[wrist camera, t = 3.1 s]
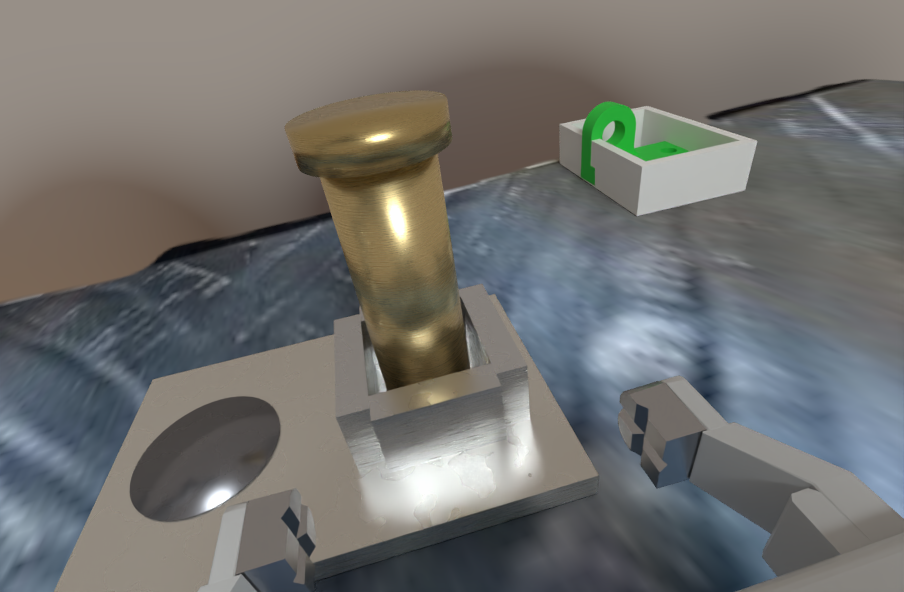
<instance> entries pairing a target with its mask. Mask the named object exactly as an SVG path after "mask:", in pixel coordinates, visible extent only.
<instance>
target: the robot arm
mask: <svg viewBox="0 0 904 592" xmlns="http://www.w3.org/2000/svg"><path fill="white" fill-rule="evenodd" d="M620 403H621V405H622V406H623V409H622V410H621V412H620V413H619V414H618V425H619V429H620V433H621V435H622V437H623V439H624V441H625V443H626V444H627V446H628V447H629V449H630V450H631V451H633V452H635V453H637V454H639V455H640V456H641V467H642V468H643V470H644V471H645V472H646V474H647V475H648V477H649V478H650V480H651V481H652V483H653V484H654V486H655V487H656V488H660V487H664V486H667V485H671V484H674V483H678V482H681V481H685V480H688V479H690V480H689V481H690V482H691V483H693V484H694V485H696V486H697V487H699V488H701V489H702V490H704V491H705V492H707V493H708V494H710V495H711V496H713V497H715V498H716V499H718V500H719V501H721V502H722V503H724V504H725V505H727V506H729V507H730V508H732V509H733V510H735V511H736V512H738V513H740V514H741V515H743V516H744V517H746V518H747V519H749V520H750V521H752V522H754V523H755V524H757V525H758V526H760V527H761V528H763V529H764V530H766V531H768V532H769V533H771V535H770V537H769V539H768V541H767V543H766V545H765V547H764V549H763V554H762V557H763V559H764V560H765V561H766V562H767V564H768V565H769V566H770V568H771V569H772V570H773V572H774V573H775V574H776V575H777V577H776V578H773V579H770V580H767V581H764V582H761V583H759V584H756V585H753V586H750V587H747V588H744V589H742V590H739V591H736V592H904V519H903V518H902V517H901V516H900V515H899V514H898V513H897V512H895V511H894V510H893V509H892V508H891V507H890V506H889V505H888V504H886V503H885V502H884V501H883V500H882V499H881V498H880V497H879V496H877V495H876V494H875V493H874V492H873V491H872V490H871V489H870V488H868V487H867V486H866V485H865V484H864V483H863V482H862V481H861V480H860V479H858V478H857V477H856V476H855V475H854V474H853V473H852V472H849V471H847V470H845V469H842V468H840V467H838V466H835V465H833V464H831V463H828V462H826V461H824V460H821V459H819V458H817V457H814V456H812V455H810V454H807V453H805V452H803V451H800V450H798V449H796V448H793V447H791V446H789V445H786V444H784V443H782V442H779V441H777V440H775V439H772V438H770V437H768V436H765V435H763V434H761V433H758V432H756V431H754V430H751V429H749V428H747V427H744V426H742V425H740V424H737V423H735V422H733V423H729V424H728V423H727V422H726V421H725V420H724V419H723V417H722V416H721V415H720V414H719V413H718V412H717V411H716V410H715V409H714V408H713V407H712V406H711V405H710V404H709V403H708V402H707V401H706V400H705V399H704V398H703V397H702V396H701V395H700V394H699V393H698V392H697V391H696V390H695V389H694V388H693V387H692V386H691V385H690V384H689V383H688V382H687V380H686V379H685V378H683V377H681V376H675V377H671V378H668V379H665V380H662V381H656V382H653V383H650V384H647V385H643V386H640V387H637V388H634V389H630V390H627V391H624V392H623V393H622V394H621V395H620ZM315 547H316V532H315V524H314V519H313V516H312V513H311V511H310V509H309V508H308V506H305V505H302V504H301V495H300V493H299V492H298V490H297V489H296V488H294V489H290V490H287V491H283V492H279V493H275V494H272V495H268V496H264V497H261V498H257V499H253V500H249V501H246V502H242V503H239V504H235V505H232V506H228V507H227V508H226V510H225V512H224V514H223V516H222V520H221V525H220V530H219V534H218V539H217V544H216V548H215V553H214V558H213V562H212V567H211V572H210V577H209V581H208V584H207V585H204V586H201V587H200V588H199V590H198V591H197V592H314V591H315V566H314V564H313V563H312V561H311V560H310V558H309V557H310V556H311V554H312V552H313V551H314V549H315Z"/></svg>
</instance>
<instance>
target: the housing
mask: <svg viewBox="0 0 904 592" xmlns="http://www.w3.org/2000/svg"><path fill="white" fill-rule="evenodd" d="M459 296H460V303H461V309H462V316H463V322H464V329H465V335H466V342H467V348H468V355H469V361H470V368H471V369H467V370H464V371H460V372H456V373H453V374H449V375H445V376H441V377H438V378H434V379H430V380H426V381H423V382H419V383H415V384H411V385H408V386H404V387H400V388H397V389H393V390H389V391H387V389H386V386H385V383H384V380H383V376H382V373H381V370H380V367H379V364H378V361H377V357H376V354H375V351H374V348H373V345H372V341H371V338H370V335H369V332H368V329H367V326H366V322H365V319H364V316H363V313H362V310H361V307H359V310H360V314H357V315H353V316H349V317H345V318H341V319H337V320H334V334H333V335H329V336H325V337H321V338H317V339H313V340H309V341H305V342H301V343H297V344H293V345H289V346H285V347H281V348H277V349H273V350H269V351H265V352H261V353H257V354H253V355H249V356H245V357H241V358H237V359H233V360H229V361H225V362H221V363H217V364H213V365H209V366H205V367H201V368H197V369H193V370H189V371H185V372H181V373H177V374H173V375H169V376H165V377H161V378H157V379H153V380H152V383H151V385H150V387H149V389H148V391H147V393H146V395H145V398H144V400H143V402H142V404H141V406H140V408H139V410H138V413H137V415H136V417H135V419H134V421H133V423H132V425H131V428H130V430H129V432H128V434H127V436H126V438H125V440H124V443H123V445H122V447H121V449H120V451H119V453H118V455H117V458H116V460H115V462H114V464H113V466H112V468H111V470H110V473H109V475H108V477H107V479H106V481H105V483H104V485H103V487H102V490H101V492H100V494H99V496H98V498H97V500H96V502H95V505H94V507H93V509H92V511H91V513H90V515H89V517H88V520H87V522H86V524H85V526H84V528H83V530H82V532H81V535H80V537H79V539H78V541H77V543H76V545H75V547H74V550H73V552H72V554H71V556H70V558H69V560H68V562H67V565H66V567H65V569H64V571H63V573H62V575H61V577H60V580H59V582H58V584H57V586H56V588H55V590H54V592H197V591H198V590H199V588H200V587H201V586H204V585H207V584H208V581H209V577H210V572H211V567H212V562H213V558H214V553H215V548H216V544H217V539H218V534H219V530H220V525H221V520H222V516H223V514H224V512H225V510H226V508H227V507H228V506H232V505H235V504H239V503H242V502H246V501H249V500H253V499H257V498H261V497H264V496H268V495H272V494H275V493H279V492H283V491H287V490H290V489H294V488H296V489H297V490H298V492H299V493H300V495H301V504H302V505H305V506H308V508H309V509H310V511H311V513H312V516H313V519H314V524H315V532H316V547H315V549H314V551H313V552H312V554H311V556H310V557H309V558H310V560H311V561H312V563H313V564H314V566H315V581H317V580H320V579H323V578H326V577H330V576H333V575H336V574H339V573H343V572H346V571H349V570H352V569H355V568H359V567H362V566H365V565H368V564H371V563H375V562H378V561H381V560H384V559H388V558H391V557H394V556H397V555H400V554H404V553H407V552H410V551H413V550H416V549H420V548H423V547H426V546H429V545H433V544H436V543H439V542H442V541H445V540H449V539H452V538H455V537H458V536H461V535H465V534H468V533H471V532H474V531H478V530H481V529H484V528H487V527H490V526H494V525H497V524H500V523H503V522H506V521H510V520H513V519H516V518H519V517H523V516H526V515H529V514H532V513H535V512H539V511H542V510H545V509H548V508H551V507H555V506H558V505H561V504H564V503H568V502H571V501H574V500H577V499H580V498H584V497H587V496H590V495H593V494H596V493H597V491H598V480H599V475H598V473H597V471H596V469H595V468H594V466H593V464H592V462H591V461H590V459H589V457H588V455H587V454H586V452H585V450H584V449H583V447H582V445H581V443H580V442H579V440H578V438H577V436H576V435H575V433H574V431H573V429H572V428H571V426H570V424H569V422H568V421H567V419H566V417H565V416H564V414H563V412H562V410H561V409H560V407H559V405H558V403H557V402H556V400H555V398H554V396H553V395H552V393H551V391H550V389H549V388H548V386H547V384H546V383H545V381H544V379H543V377H542V376H541V374H540V372H539V370H538V369H537V367H536V365H535V363H534V362H533V360H532V358H531V356H530V355H529V353H528V351H527V350H526V348H525V346H524V344H523V343H522V341H521V339H520V337H519V336H518V334H517V332H516V330H515V329H514V327H513V325H512V323H511V322H510V320H509V318H508V317H507V315H506V313H505V311H504V310H503V308H502V306H501V304H500V303H499V301H498V299H497V297H496V296H495V294H493V295H488V293H487V292H486V290H485V288H484V286H483V284H479V285H475V286H471V287H467V288H463V289H459Z"/></svg>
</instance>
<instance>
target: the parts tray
mask: <svg viewBox="0 0 904 592" xmlns="http://www.w3.org/2000/svg"><path fill="white" fill-rule="evenodd" d="M631 110H632V111H633V113H634V115H635V118H636V132H635V142H634V148H637V147H641V146H646V145H650V144H654V143H658V142H663V141H666V142H668V143H671V144H673V145H676V146H678V147H681V148H683V149H686V150H688V151H690V152H686V153H681V154H677V155H673V156H668V157H664V158H659V159H655V160H650V161H644V160H642V159H640V158H638V157H636V156H634V155H632V154H630V153H628V152H626V151H624V150H622V149H620V148H618V147H616V146H614V145H611V144H609V143H607V142H605V141H607V140H608V139H609V138H610V137H611V136H612V135H613V133H614V130H615V123H614V121H612V122H611V123H609V124H608V125H607V126H606V128H605V129H604V131H603V135H602V139H603V140H601V139H597V140H592V143H591V166H592V167H594V168H595V185H593V184H591V183H590V182H588V181H586V180H585V179H583V178H582V179H583V180H585V181H586V182H588V183H589V184H591V185H592V186H594V187H595V188H596V189H598V190H599V191H601V192H602V193H604V194H605V195H607V196H608V197H610V198H611V199H613V200H614V201H615V202H617V203H618V204H620V205H621V206H623V207H624V208H626V209H627V210H629V211H630V212H631V213H633V214H634V215H636V216H639V215H644V214H648V213H652V212H656V211H660V210H665V209H669V208H673V207H677V206H681V205H686V204H690V203H694V202H698V201H702V200H707V199H711V198H715V197H719V196H723V195H728V194H732V193H736V192H740V191H744V190H745V188H746V184H747V180H748V176H749V172H750V168H751V164H752V160H753V156H754V152H755V148H756V144H757V141H756V140H753V139H750V138H747V137H744V136H740V135H737V134H734V133H731V132H728V131H725V130H721V129H718V128H715V127H712V126H709V125H706V124H703V123H699V122H696V121H693V120H690V119H687V118H683V117H680V116H677V115H674V114H671V113H668V112H664V111H661V110H658V109H655V108H652V107H649V106H645V107H640V108H635V109H631ZM585 120H586V119H582V120H578V121H573V122H569V123H563V124H560V164H561V165H563V166H564V167H566V168H567V169H569V170H570V171H572V172H573V173H575V174H576V175H577V176H579V177H580V178H581V152H582V130H583V125H584V122H585Z"/></svg>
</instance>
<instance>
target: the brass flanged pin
mask: <svg viewBox="0 0 904 592" xmlns="http://www.w3.org/2000/svg"><path fill="white" fill-rule="evenodd" d="M449 118H450V117H449V110H448V102H447V97H446V96H445V95H444V94H442V93H439V92H434V91H399V92H390V93H381V94H376V95H369V96H363V97H358V98H353V99H349V100H344V101H340V102H336V103H333V104H329V105H325V106H322V107H319V108H316V109H313V110H311V111H308V112H306V113H303V114H301V115H299V116H297V117H295V118H293V119H292V120H290V121H289V122H288V123H287V124H286V125H285V131H286V134H287V137H288V140H289V143H290V146H291V148H292V152H293V155H294V158H295V160H296V163H297V166H298V168H299V170H300V171H301V172H302V173H305V174H307V175H310V176H315V177H320V179H321V183H322V186H323V189H324V191H325V195H326V199H327V202H328V205H329V208H330V211H331V214H332V218H333V221H334V224H335V227H336V230H337V233H338V237H339V240H340V243H341V246H342V249H343V253H344V256H345V259H346V262H347V265H348V268H349V272H350V275H351V278H352V281H353V284H354V287H355V291H356V294H357V297H358V300H359V303H360V307H361V310H362V313H363V316H364V319H365V322H366V326H367V329H368V332H369V335H370V338H371V341H372V345H373V348H374V351H375V354H376V357H377V361H378V364H379V367H380V370H381V373H382V376H383V380H384V383H385V386H386V389H387V391H389V390H393V389H397V388H400V387H404V386H408V385H411V384H415V383H419V382H423V381H426V380H430V379H434V378H438V377H441V376H445V375H449V374H453V373H456V372H460V371H464V370H467V369H471V368H470V361H469V355H468V348H467V342H466V335H465V329H464V322H463V316H462V309H461V303H460V296H459V290H458V283H457V277H456V270H455V264H454V257H453V251H452V244H451V238H450V231H449V225H448V218H447V212H446V205H445V199H444V192H443V186H442V180H441V173H440V166H439V160H438V153H439V152H441V151H442V150H444V149H445V148H446V147H447V146H448V145H449V144H450V143H451V141H452V132H451V125H450V119H449Z"/></svg>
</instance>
